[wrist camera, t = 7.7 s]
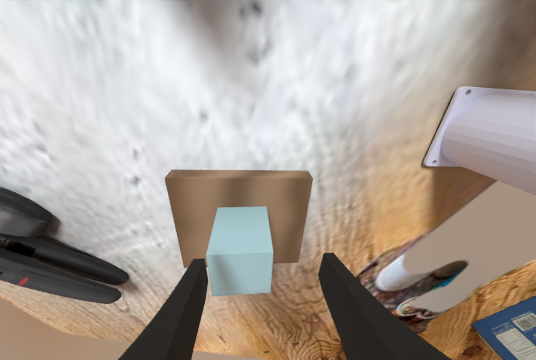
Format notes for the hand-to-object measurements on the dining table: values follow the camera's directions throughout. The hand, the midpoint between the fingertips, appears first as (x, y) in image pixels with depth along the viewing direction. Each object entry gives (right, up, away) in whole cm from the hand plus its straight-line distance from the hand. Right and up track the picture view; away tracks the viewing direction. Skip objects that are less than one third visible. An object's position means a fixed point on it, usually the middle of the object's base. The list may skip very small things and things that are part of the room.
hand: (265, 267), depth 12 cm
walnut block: (-3, +1, +11) cm, 12 cm away
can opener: (-23, -2, +10) cm, 26 cm away
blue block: (-3, 0, +9) cm, 9 cm away
